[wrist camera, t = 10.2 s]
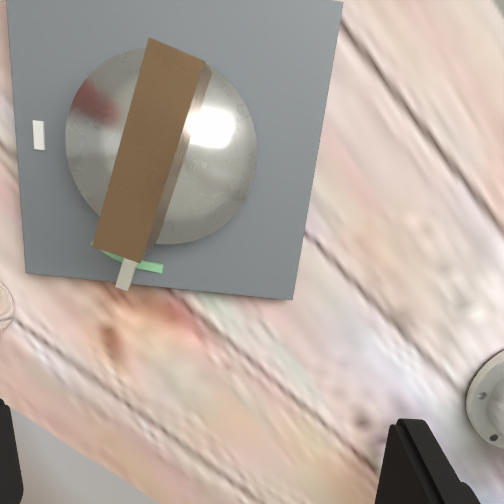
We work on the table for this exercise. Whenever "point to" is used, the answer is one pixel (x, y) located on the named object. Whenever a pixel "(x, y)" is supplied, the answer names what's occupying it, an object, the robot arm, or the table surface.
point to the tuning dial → (159, 151)
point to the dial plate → (238, 74)
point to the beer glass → (5, 307)
